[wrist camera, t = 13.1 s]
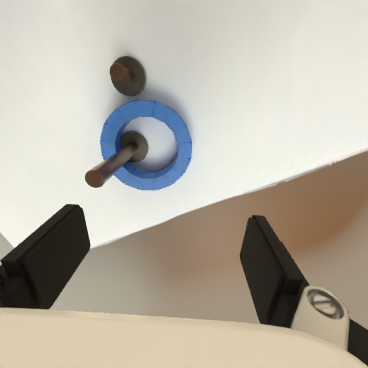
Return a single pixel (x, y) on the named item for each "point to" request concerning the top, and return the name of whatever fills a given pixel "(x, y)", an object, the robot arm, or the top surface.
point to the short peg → (128, 76)
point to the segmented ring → (128, 171)
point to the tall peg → (118, 159)
